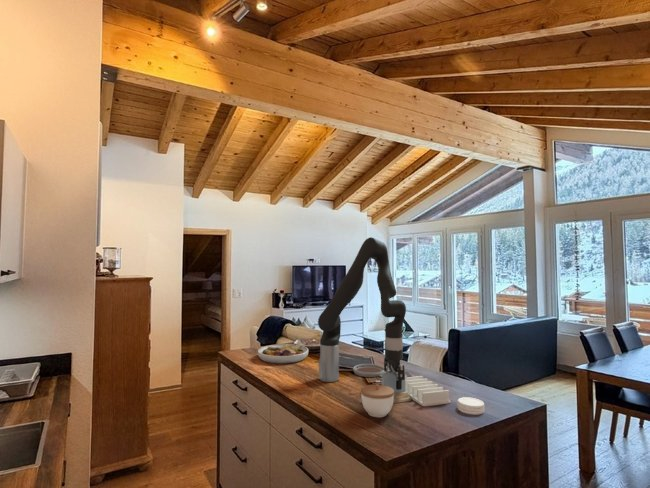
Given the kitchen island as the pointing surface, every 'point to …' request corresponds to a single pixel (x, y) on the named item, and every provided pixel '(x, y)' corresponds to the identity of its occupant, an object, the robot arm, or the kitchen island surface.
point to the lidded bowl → (377, 399)
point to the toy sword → (369, 370)
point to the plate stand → (401, 397)
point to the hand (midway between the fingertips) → (394, 386)
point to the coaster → (470, 405)
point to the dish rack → (425, 391)
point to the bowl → (283, 353)
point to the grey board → (392, 382)
